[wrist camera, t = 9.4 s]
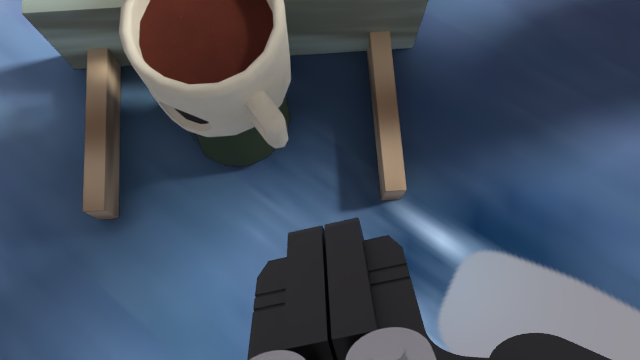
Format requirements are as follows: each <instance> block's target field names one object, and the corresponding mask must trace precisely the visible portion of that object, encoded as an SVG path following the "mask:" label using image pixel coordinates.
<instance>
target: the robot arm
mask: <svg viewBox="0 0 640 360" xmlns="http://www.w3.org/2000/svg"><path fill="white" fill-rule="evenodd" d="M255 296H256V298H255V300H254V313H253V317H252V326H251V334H250V342H249V351H248V359H247V360H611V359H609V358H606V357H604V356H602V355H600V354H597V353H595V352H593V351H591V350H588V349H586V348H584V347H582V346H579V345H577V344H575V343H573V342H570V341H568V340H566V339H563V338H561V337H558V336H554V335H550V334H544V333H528V334H521V335H517V336H514V337H511V338H509V339H507V340H505V341H503V342H502V343H501V344H499V345H498V346H497V347H496V348H495V349H494V350H493V352H492V353H491V355H490V357H489V358H478V357H465V356H460V355H456V354H452V353H450V352H447V351H445V350H443V349H441V348H440V347H438V346H437V345H435V344H434V343H433V342H432V341H431V340H430V338H429V337H428V335H427V334H426V331H425V329H424V325H423V321H422V318H421V314H420V310H419V307H418V303H417V300H416V296H415V292H414V289H413V285H412V281H411V278H410V274H409V271H408V267H407V263H406V260H405V256H404V252H403V249H402V246H400V245H399V244H398V243H397V242H396V241H394V240H393V239H392V238H391V237H390V236H388V235H387V236H382V237H378V238H373V239H368V240H364V237H363V233H362V229H361V225H360V221H359V218H354V219H349V220H344V221H340V222H335V223H331V224H326V225H325V230H324V228H323V226H317V227H313V228H308V229H304V230H299V231H295V232H290V233H288V247H287V257H285V258H281V259H276V260H271V261H268V263H267V264H266V266H265V267H264V269H263V270H262V272H261V273H260V274H259V276H258V277H257V284H256V292H255Z"/></svg>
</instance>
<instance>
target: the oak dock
mask: <svg viewBox="0 0 640 360" xmlns="http://www.w3.org/2000/svg"><path fill="white" fill-rule="evenodd" d="M123 1H124V0H22V14H23V15H24V16H25V17H26V19H27V20H28V21H29V22H30V23H31V24H32V25H33V26H34V27H35V28H36V29H37V30H38V31H39V32H40V33H41V34H42V35H43V37H44V38H45V39H46V40H47V41H48V42H49V43H50V44H51V45H52V46H53V47H54V48H55V49H56V50H57V51H58V52H59V53H60V55H61V56H62V57H63V58H64V59H65V60H66V61H67V62H68V63H69V64H70V65H71V66H72V67H73V68H74V69H85V68H87V86H86V120H85V154H84V188H83V212H85V213H87V214H89V215H91V216H93V217H95V218H97V219H111V218H119V157H120V88H121V66H132V65H131V63H130V61H129V59H128V58H127V56H126V54H125V52H124V49H123V46H122V42H121V39H120V35H119V25H120V13H121V5H122V3H123ZM283 1H284V5H285V15H286V24H287V33H288V43H289V52H290V56H292V55H308V54H324V53H340V52H355V51H367V57H368V67H369V78H370V88H371V98H372V109H373V119H374V130H375V140H376V151H377V161H378V172H379V182H380V192H381V200H394V199H401V198H402V196H403V195H404V193H405V191H406V190H407V189H406V180H405V170H404V161H403V151H402V142H401V133H400V123H399V114H398V105H397V95H396V86H395V77H394V67H393V58H392V49H403V48H413V45H414V42H415V39H416V36H417V33H418V30H419V27H420V24H421V21H422V18H423V15H424V12H425V9H426V6H427V3H428V0H283Z"/></svg>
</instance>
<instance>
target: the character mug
mask: <svg viewBox="0 0 640 360" xmlns="http://www.w3.org/2000/svg"><path fill="white" fill-rule="evenodd" d="M119 35H120V39H121V42H122V46H123V49H124V52H125V54H126V56H127V58H128V59H129V61H130V63H131V65H132V66H133V68H134V69H135V71H136V72H137V73H138V75H139V76H140V78H141V79H142V80H143V82H144V83H145V85H146V86H147V88H148V89H149V91H150V93H151V94H152V96H153V97H154V98H155V99H156V101H157V102H158V104H159V105H160V107H161V108H162V109H163V110H164V112H165V113H166V114H167V115H168V116H169V117H170V118H171V119H172V120H173V121H174V122H175V123H177V124H178V125H179V126H181V127H182V128H184V129H185V130H187V131H190V134H191V136H192V138H193V139H194V137H193V134H192V132H193V133H196V134H197V137H198V141H199V143H200V146H201V148H202V151H203V153H204V154H205V156H206V157H208V158H210V159H212V160H215V161H217V162H219V163H221V164H223V165H225V166H249V165H251V164H253V163H256V162H258V161H260V160H262V159H264V158H266V157H268V156H269V155H270V154H271V153H272V152H273V151H274V150H275V149H276V148H281V147H284V146H285V145H286V143H287V141H288V140H289V139H288V133H287V128H288V125H289V122H290V114H289V109H288V105H287V100H286V96H285V94H286V92H287V89H288V87H289V84H290V82H291V68H290V52H289V43H288V33H287V24H286V15H285V5H284V1H283V0H124V1H123V3H122V5H121V13H120V25H119ZM194 141H195V140H194Z"/></svg>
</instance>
